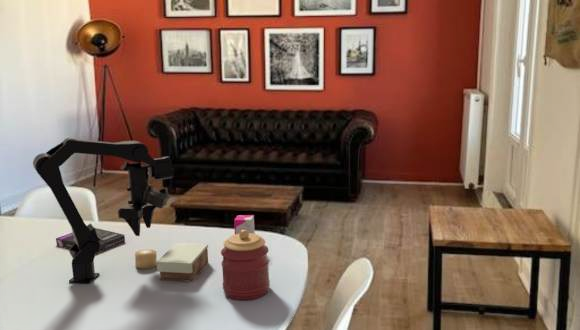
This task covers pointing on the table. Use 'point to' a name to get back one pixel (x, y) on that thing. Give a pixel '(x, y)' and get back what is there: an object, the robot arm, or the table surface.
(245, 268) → the canister
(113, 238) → the box
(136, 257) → the dome push button
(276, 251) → the table surface
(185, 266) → the lid
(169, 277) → the walnut box
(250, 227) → the supplement box
